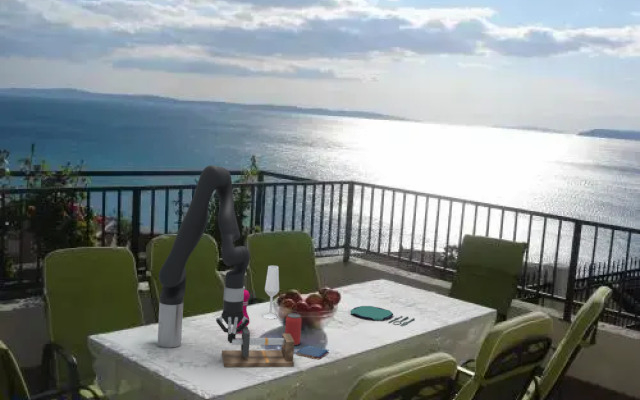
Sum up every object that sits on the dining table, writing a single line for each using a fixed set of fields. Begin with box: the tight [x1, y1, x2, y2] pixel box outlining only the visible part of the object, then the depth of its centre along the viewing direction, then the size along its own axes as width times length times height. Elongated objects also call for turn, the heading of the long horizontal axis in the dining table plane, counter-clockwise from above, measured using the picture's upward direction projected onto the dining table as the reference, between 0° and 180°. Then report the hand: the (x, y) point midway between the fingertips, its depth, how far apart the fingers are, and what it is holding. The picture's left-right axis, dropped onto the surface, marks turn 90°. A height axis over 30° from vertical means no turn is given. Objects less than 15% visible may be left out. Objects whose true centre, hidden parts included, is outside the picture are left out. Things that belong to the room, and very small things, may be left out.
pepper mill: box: [236, 286, 251, 334], centre depth 295 cm, size 7×7×20 cm
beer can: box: [284, 312, 303, 346], centre depth 284 cm, size 7×7×12 cm
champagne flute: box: [262, 265, 280, 320], centre depth 320 cm, size 7×7×24 cm
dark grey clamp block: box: [240, 325, 251, 357], centre depth 260 cm, size 2×9×9 cm, turn 12°
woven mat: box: [295, 345, 330, 361], centre depth 274 cm, size 10×11×2 cm
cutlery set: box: [350, 305, 416, 327], centre depth 333 cm, size 20×30×2 cm, turn 57°
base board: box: [221, 333, 295, 368], centre depth 261 cm, size 26×14×9 cm, turn 102°
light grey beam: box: [231, 337, 285, 346], centre depth 261 cm, size 20×2×2 cm, turn 102°
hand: (231, 342), depth 262 cm, fingers closed
